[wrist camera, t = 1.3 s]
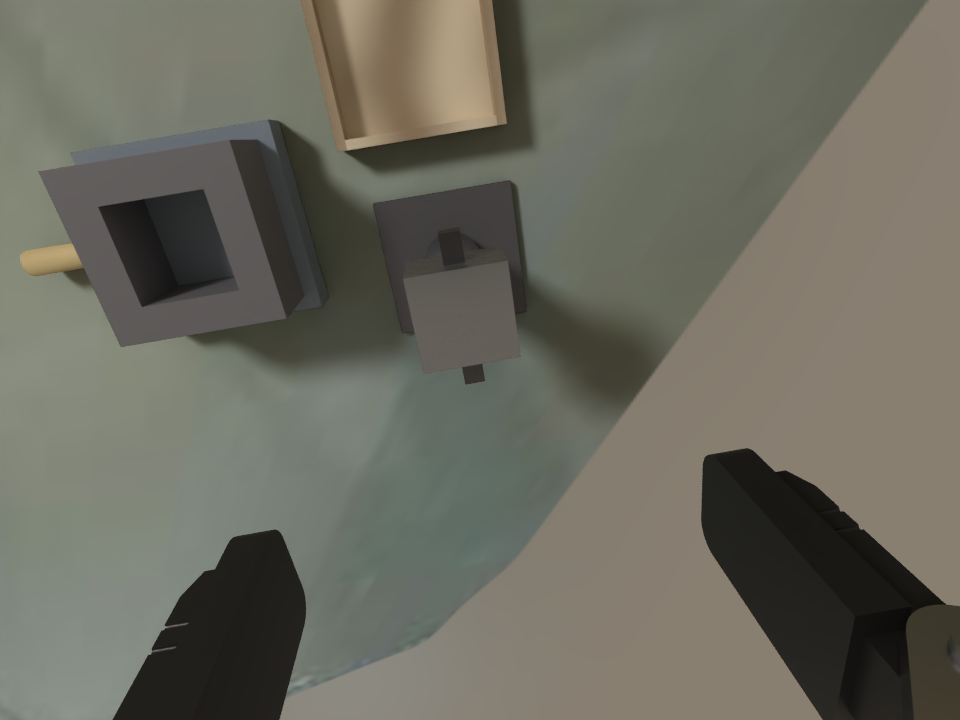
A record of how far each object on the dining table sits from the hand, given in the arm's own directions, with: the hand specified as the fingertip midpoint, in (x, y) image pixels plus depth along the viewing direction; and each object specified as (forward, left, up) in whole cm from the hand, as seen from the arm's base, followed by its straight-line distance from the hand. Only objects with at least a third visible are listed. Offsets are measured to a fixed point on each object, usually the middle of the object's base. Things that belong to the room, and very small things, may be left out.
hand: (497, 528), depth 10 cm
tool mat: (0, 0, -24) cm, 24 cm away
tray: (+1, -11, -24) cm, 26 cm away
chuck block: (+15, -4, -24) cm, 29 cm away
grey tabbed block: (0, 0, -24) cm, 24 cm away
